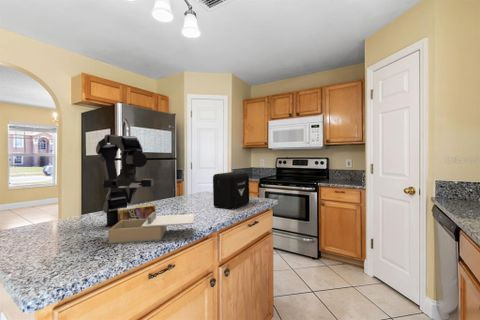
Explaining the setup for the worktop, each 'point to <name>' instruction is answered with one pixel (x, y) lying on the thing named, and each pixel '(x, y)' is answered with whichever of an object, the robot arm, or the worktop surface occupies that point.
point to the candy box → (135, 212)
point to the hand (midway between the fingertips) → (129, 203)
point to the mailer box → (134, 232)
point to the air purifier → (230, 190)
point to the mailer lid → (168, 220)
